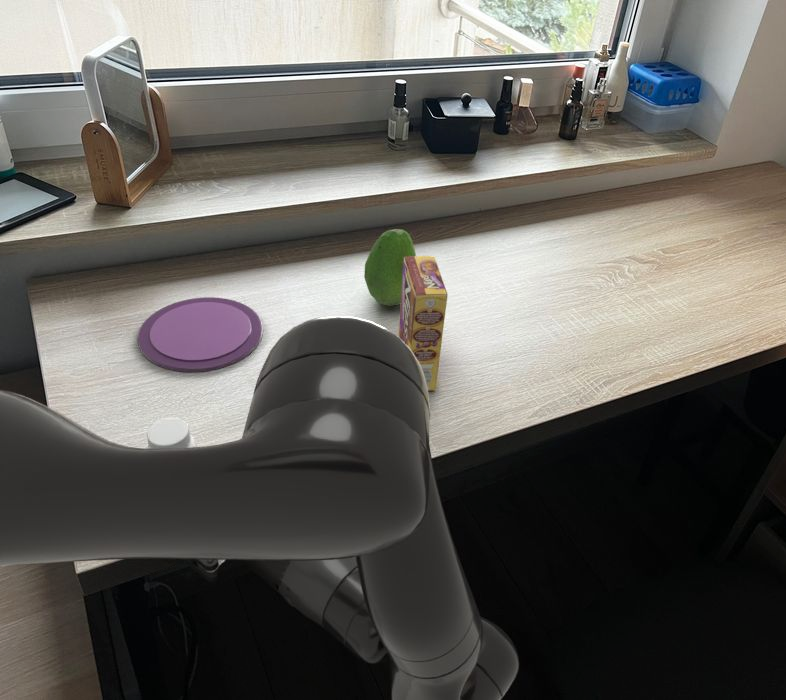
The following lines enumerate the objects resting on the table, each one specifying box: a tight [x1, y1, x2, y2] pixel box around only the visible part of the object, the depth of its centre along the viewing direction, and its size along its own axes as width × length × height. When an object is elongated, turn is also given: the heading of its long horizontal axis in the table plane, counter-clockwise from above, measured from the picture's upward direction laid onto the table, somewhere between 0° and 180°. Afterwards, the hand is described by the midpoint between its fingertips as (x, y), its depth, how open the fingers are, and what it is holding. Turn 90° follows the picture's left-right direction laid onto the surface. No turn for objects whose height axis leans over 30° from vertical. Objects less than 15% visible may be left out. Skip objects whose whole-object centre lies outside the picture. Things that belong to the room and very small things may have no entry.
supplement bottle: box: [146, 417, 197, 448], centre depth 75 cm, size 5×5×8 cm
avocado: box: [363, 228, 417, 307], centre depth 105 cm, size 8×8×12 cm
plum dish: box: [137, 296, 264, 373], centre depth 98 cm, size 16×16×1 cm
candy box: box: [397, 255, 449, 392], centre depth 92 cm, size 9×4×15 cm, turn 13°
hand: (202, 472), depth 72 cm, fingers open, 8 cm apart
